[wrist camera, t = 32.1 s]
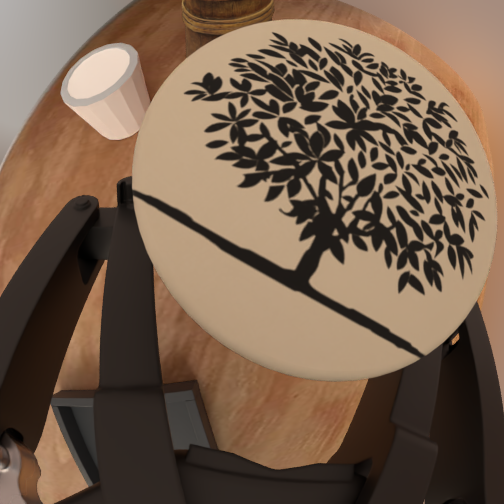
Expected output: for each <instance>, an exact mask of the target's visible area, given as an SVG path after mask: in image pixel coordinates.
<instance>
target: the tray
mask: <svg viewBox="0 0 504 504" xmlns="http://www.w3.org/2000/svg"><path fill="white" fill-rule="evenodd" d="M163 388H164V395H165V402H166V409H167V415H168V421H169V426H170V432H171V437H172V442H173V447H174V450H176V449H187V450H188V449H189V445H190V443H191V444H194V445H198V446H202V447H207V448H211V449H215V450H218V448H217V445H216V442H215V439H214V436H213V432H212V429H211V426H210V423H209V420H208V417H207V413H206V410H205V407H204V403H203V400H202V396H201V393H200V389H199V386H198V382H197V380H193V381H186V382H179V383H171V384H163ZM94 393H95V390H61V391H60V392H58V393H56V394H54V395H52V399H51V403H50V404H51V406H52V409H53V412H54V415H55V417H56V420H57V422H58V425H59V427H60V430H61V432H62V434H63V437H64V439H65V441H66V443H67V445H68V448H69V450H70V452H71V454H72V456H73V458H74V460H75V462H76V464H77V466H78V468H79V470H80V472H81V474H82V475H83V477H84V479H85V481H86V483H87V484H88V486H89V487H90V486H92V485H94V484H95V483H97V482H99V481H100V477H99V470H98V462H97V453H96V443H95V431H94V414H93V398H94Z"/></svg>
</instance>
